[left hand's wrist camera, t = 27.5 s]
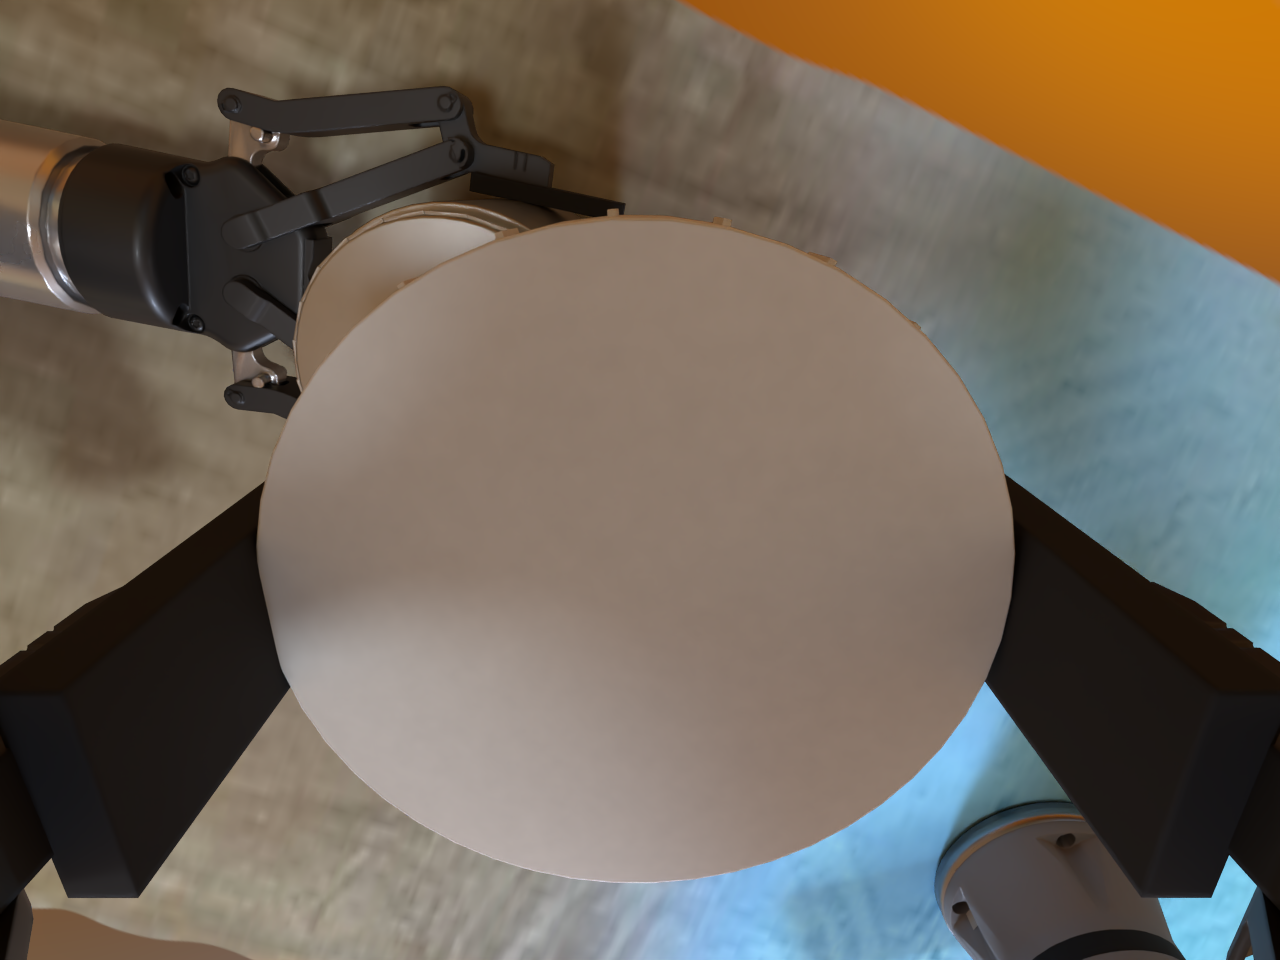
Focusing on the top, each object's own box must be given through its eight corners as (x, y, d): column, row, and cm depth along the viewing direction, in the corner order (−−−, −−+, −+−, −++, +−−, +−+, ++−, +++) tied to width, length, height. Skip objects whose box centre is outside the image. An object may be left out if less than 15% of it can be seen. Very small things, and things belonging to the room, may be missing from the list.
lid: (271, 178, 10) (196, 174, 8) (1048, 244, 10) (1128, 252, 8) (335, 788, 14) (294, 867, 12) (889, 821, 14) (922, 903, 12)
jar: (567, 163, 36) (505, 137, 19) (648, 336, 39) (657, 444, 22) (405, 249, 38) (215, 296, 21) (496, 409, 41) (397, 561, 24)
